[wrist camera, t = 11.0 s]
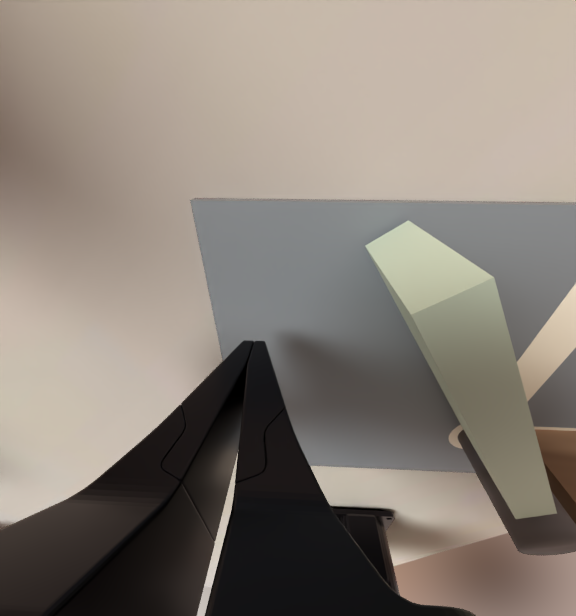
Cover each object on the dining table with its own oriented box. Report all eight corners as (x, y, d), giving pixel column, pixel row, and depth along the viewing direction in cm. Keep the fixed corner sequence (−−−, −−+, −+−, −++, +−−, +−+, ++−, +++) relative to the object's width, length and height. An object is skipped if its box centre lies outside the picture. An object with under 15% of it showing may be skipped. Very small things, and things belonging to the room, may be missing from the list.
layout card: (659, 475, 17) (667, 481, 17) (244, 456, 18) (243, 462, 18) (1163, 209, 7) (1206, 212, 7) (194, 198, 8) (190, 200, 8)
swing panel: (462, 428, 14) (515, 519, 11) (364, 246, 8) (411, 314, 5) (491, 420, 13) (557, 513, 10) (408, 220, 8) (494, 277, 4)
